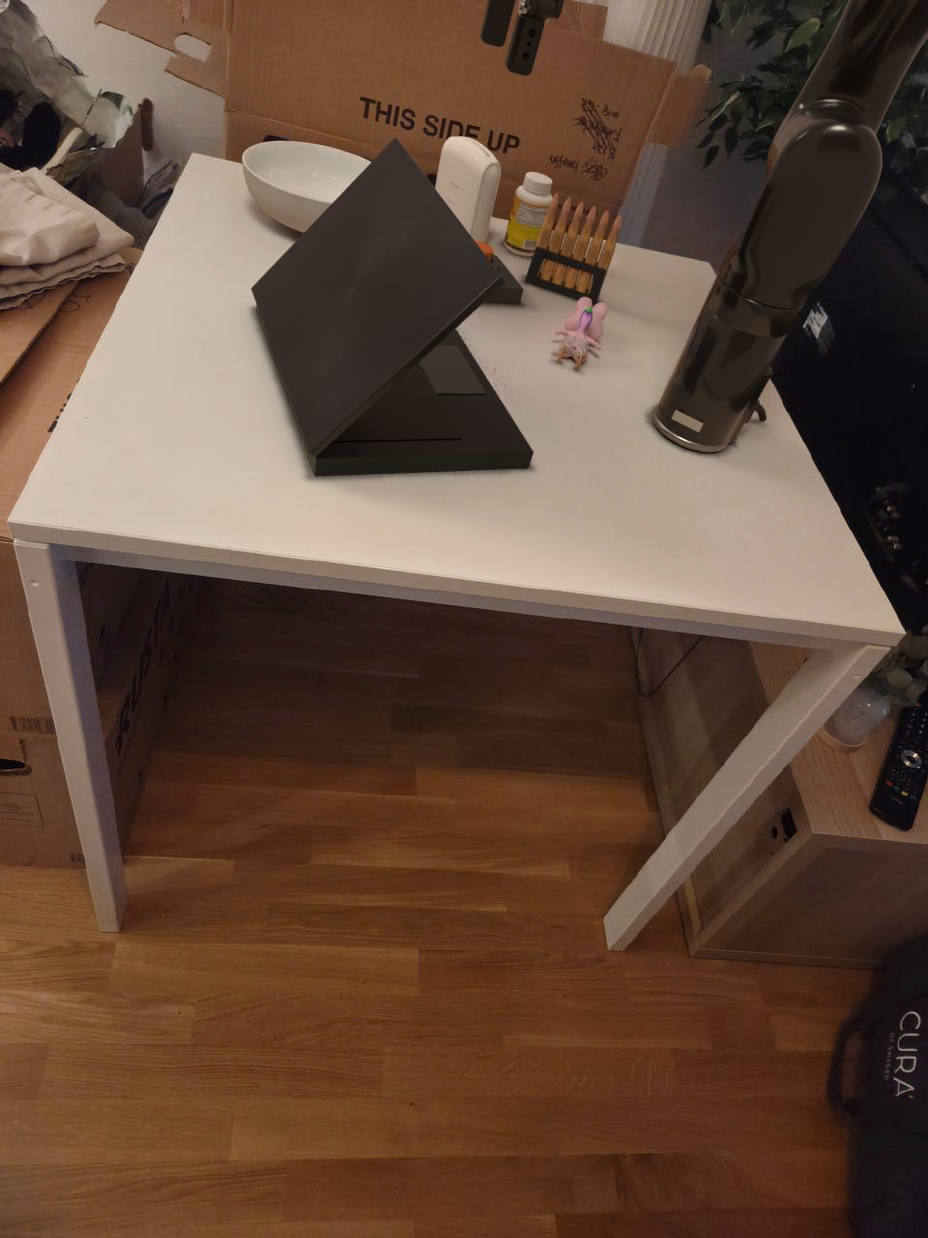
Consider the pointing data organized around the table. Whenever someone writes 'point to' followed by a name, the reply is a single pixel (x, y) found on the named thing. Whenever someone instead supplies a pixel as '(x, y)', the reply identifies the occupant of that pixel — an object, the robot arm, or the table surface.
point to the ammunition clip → (567, 256)
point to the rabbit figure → (582, 330)
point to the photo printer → (469, 183)
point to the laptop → (427, 422)
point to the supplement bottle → (528, 214)
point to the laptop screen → (369, 293)
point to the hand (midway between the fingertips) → (503, 57)
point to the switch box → (505, 286)
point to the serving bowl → (298, 179)
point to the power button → (486, 249)
